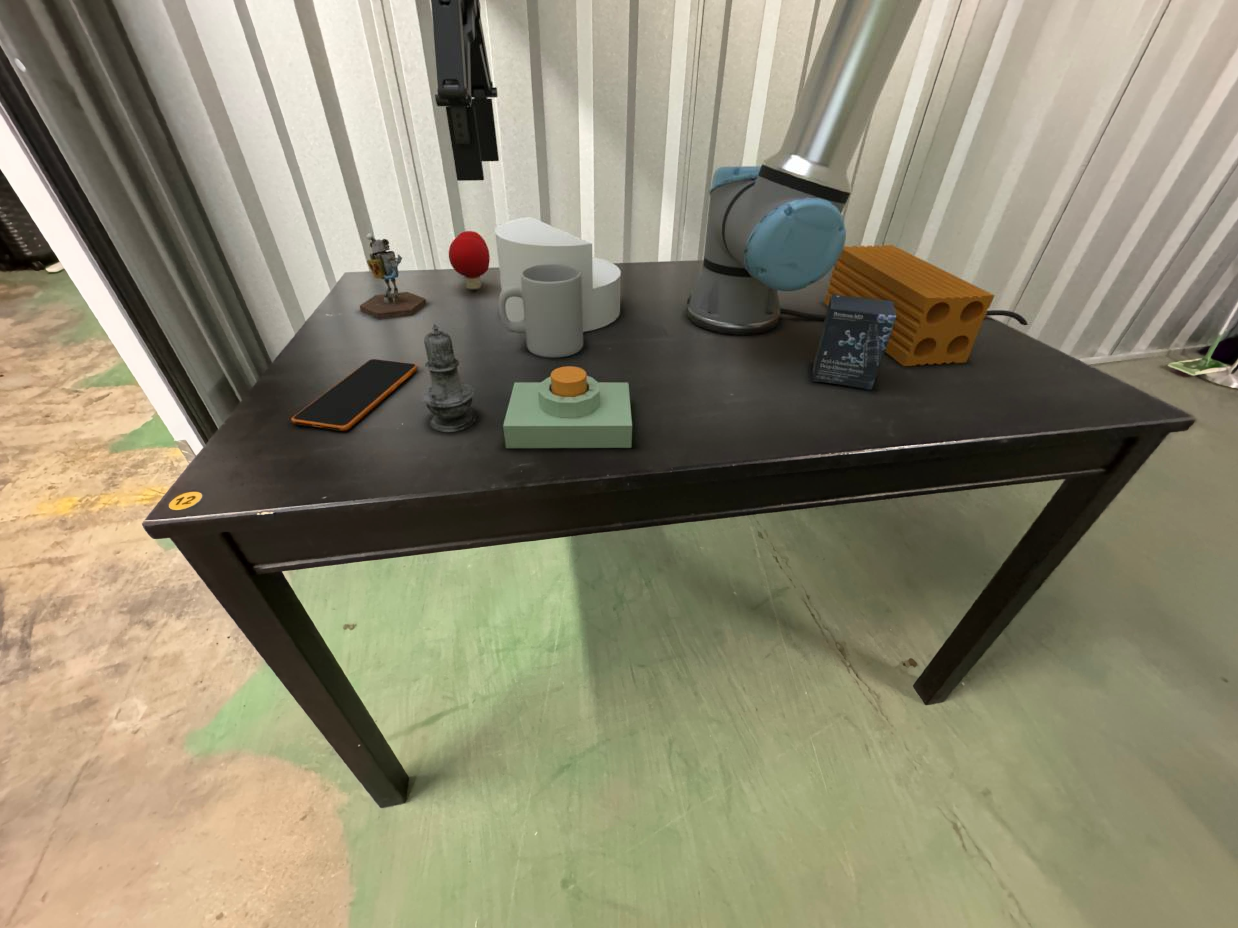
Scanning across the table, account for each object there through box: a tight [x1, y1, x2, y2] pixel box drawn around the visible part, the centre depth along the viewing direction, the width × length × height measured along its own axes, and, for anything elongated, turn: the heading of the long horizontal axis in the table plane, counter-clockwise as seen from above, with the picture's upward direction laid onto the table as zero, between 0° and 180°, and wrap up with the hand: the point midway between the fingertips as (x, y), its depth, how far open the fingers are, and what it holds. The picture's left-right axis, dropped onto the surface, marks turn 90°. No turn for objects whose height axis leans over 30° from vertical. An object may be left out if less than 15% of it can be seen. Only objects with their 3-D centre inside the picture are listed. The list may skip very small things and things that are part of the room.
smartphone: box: [290, 358, 419, 431], centre depth 70 cm, size 8×17×1 cm, turn 167°
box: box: [812, 294, 896, 391], centre depth 73 cm, size 8×6×11 cm
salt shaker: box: [421, 323, 477, 433], centre depth 62 cm, size 6×6×12 cm
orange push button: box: [550, 365, 588, 397], centre depth 62 cm, size 4×4×2 cm
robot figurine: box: [359, 233, 427, 320], centre depth 91 cm, size 11×9×12 cm
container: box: [494, 216, 622, 333], centre depth 91 cm, size 20×20×13 cm
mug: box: [498, 264, 584, 359], centre depth 80 cm, size 12×8×11 cm
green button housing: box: [502, 375, 633, 449], centre depth 64 cm, size 14×10×5 cm
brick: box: [824, 244, 995, 367], centre depth 87 cm, size 26×10×10 cm, turn 9°
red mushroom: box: [448, 230, 491, 292], centre depth 100 cm, size 9×7×10 cm
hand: (480, 170), depth 63 cm, fingers open, 13 cm apart
